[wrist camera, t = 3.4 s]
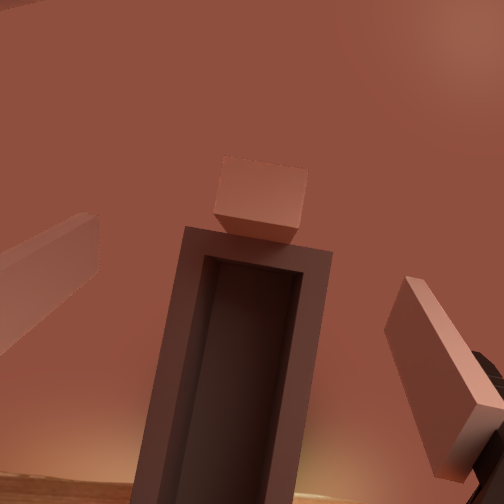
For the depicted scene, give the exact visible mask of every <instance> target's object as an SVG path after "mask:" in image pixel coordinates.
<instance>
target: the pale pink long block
mask: <svg viewBox="0 0 504 504" xmlns="http://www.w3.org/2000/svg"><path fill="white" fill-rule="evenodd" d="M308 172H309V169H304V168H298V167H292V166H286V165H280V164H273V163H267V162H261V161H255V160H249V159H243V158H237V157H231V156H224V160H223V166H222V171H221V177H220V181H219V186H218V191H217V197H216V202H215V207H214V212H213V214H214V215H215V217H216V218H217V219H218V221H219V222H220V224H221V225H222V226H223V228H224V229H225V230H226V232H227V233H228V234H233V235H239V236H245V237H251V238H256V239H262V240H268V241H273V242H279V243H285V244H290V242H291V241H292V239H293V237H294V235H295V234H296V232H297V230H298V229H299V224H300V219H301V213H302V207H303V201H304V196H305V190H306V184H307V178H308Z"/></svg>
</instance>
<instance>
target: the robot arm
mask: <svg viewBox="0 0 504 504" xmlns="http://www.w3.org/2000/svg"><path fill="white" fill-rule="evenodd" d="M39 1H43V0H0V11H2V10H6V9H10V8H14V7H18V6H22V5H26V4H30V3H35V2H39ZM99 271H100V260H99V223H98V215H95V214H90V213H85V212H80V213H78V214H76V215H74V216H72V217H70V218H68V219H66V220H64V221H63V222H61V223H59V224H57V225H55V226H53V227H51V228H49V229H47V230H45V231H43V232H41V233H39V234H37V235H35V236H33V237H31V238H29V239H27V240H25V241H23V242H21V243H20V244H18V245H16V246H14V247H12V248H10V249H8V250H6V251H4V252H2V253H0V356H1V355H2V354H3V353H4V352H5V351H7V350H8V349H9V348H10V347H11V346H12V345H14V344H15V343H16V342H17V341H18V340H20V338H22V337H23V336H24V335H25V334H26V333H28V332H29V331H30V330H31V329H33V328H34V327H35V326H36V325H37V324H38V323H40V322H41V321H42V320H43V319H44V318H45V317H47V316H48V315H49V314H50V313H51V312H52V311H54V310H55V309H56V308H57V307H58V306H60V305H61V304H62V303H63V302H64V301H65V300H67V299H68V298H69V297H70V296H71V295H72V294H74V293H75V292H76V291H77V290H78V289H80V288H81V287H82V286H83V285H84V284H85V283H87V282H88V281H89V280H90V279H91V278H92V277H94V276H95V275H96V274H97V273H98V272H99ZM384 332H385V335H386V338H387V341H388V344H389V347H390V349H391V352H392V355H393V358H394V361H395V364H396V367H397V369H398V372H399V376H400V378H401V381H402V384H403V387H404V390H405V393H406V396H407V398H408V402H409V404H410V407H411V410H412V413H413V416H414V419H415V422H416V425H417V428H418V430H419V433H420V436H421V439H422V442H423V445H424V448H425V451H426V454H427V457H428V459H429V462H430V465H431V468H432V471H433V474H434V476H435V477H438V478H442V479H446V480H450V481H455V482H459V483H464V482H465V480H466V478H467V477H468V475H469V473H470V472H471V471H472V469H473V470H474V472H475V474H476V476H477V479H478V481H479V483H480V484H479V485H478V487H477V489H476V490H475V491H474V493H473V494H472V496H471V497H470V499H469V500H468V502H467V503H466V504H504V379H502V376H501V374H500V373H499V371H498V370H497V369H496V367H495V366H494V364H492V363H491V362H490V361H489V360H488V359H487V358H485V357H484V356H483V355H482V354H481V353H480V352H475V351H471V350H470V349H469V348H468V346H467V345H466V343H465V342H464V340H463V339H462V337H461V336H460V334H459V333H458V331H457V330H456V328H455V327H454V325H453V323H452V322H451V320H450V319H449V318H448V316H447V314H446V313H445V312H444V310H443V308H442V307H441V305H440V304H439V303H438V301H437V299H436V298H435V296H434V295H433V293H432V292H431V290H430V289H429V287H428V286H427V284H426V283H425V281H424V280H423V279H417V278H413V277H408V276H404V279H403V282H402V285H401V287H400V290H399V292H398V295H397V298H396V300H395V303H394V305H393V308H392V310H391V313H390V316H389V318H388V321H387V324H386V326H385V329H384Z"/></svg>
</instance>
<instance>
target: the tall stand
mask: <svg viewBox="0 0 504 504" xmlns="http://www.w3.org/2000/svg"><path fill="white" fill-rule="evenodd" d="M332 255H333V252H330V251H325V250H318V249H313V248H307V247H302V246H296V245H290V244H285V243H279V242H273V241H268V240H262V239H256V238H251V237H245V236H239V235H233V234H228V233H222V232H216V231H210V230H205V229H198V228H194V227H188V226H185V230H184V235H183V240H182V245H181V250H180V255H179V260H178V265H177V270H176V275H175V280H174V285H173V290H172V295H171V300H170V305H169V310H168V315H167V320H166V325H165V330H164V335H163V340H162V345H161V350H160V355H159V360H158V365H157V370H156V375H155V380H154V385H153V390H152V395H151V400H150V405H149V410H148V415H147V420H146V425H145V430H144V435H143V440H142V445H141V450H140V455H139V460H138V465H137V470H136V475H135V480H134V485H133V490H132V495H131V500H130V504H292V502H293V495H294V489H295V483H296V477H297V471H298V464H299V458H300V452H301V446H302V440H303V433H304V428H305V421H306V415H307V409H308V403H309V397H310V390H311V384H312V378H313V372H314V366H315V360H316V354H317V347H318V341H319V335H320V329H321V323H322V316H323V311H324V304H325V298H326V292H327V286H328V279H329V273H330V267H331V261H332Z"/></svg>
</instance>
